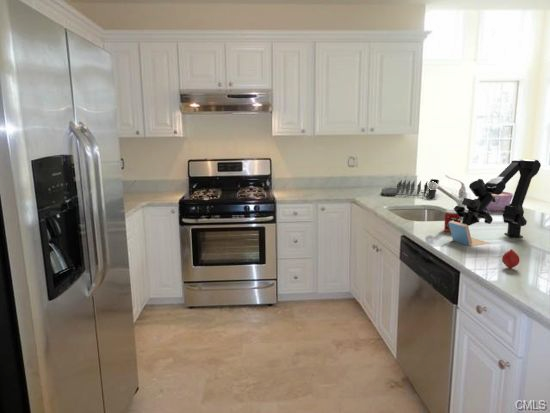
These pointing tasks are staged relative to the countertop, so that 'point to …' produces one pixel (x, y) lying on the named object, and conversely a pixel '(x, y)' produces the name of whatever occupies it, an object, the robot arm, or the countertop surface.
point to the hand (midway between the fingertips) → (461, 227)
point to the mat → (477, 242)
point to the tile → (460, 232)
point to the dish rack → (407, 186)
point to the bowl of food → (500, 201)
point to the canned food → (451, 218)
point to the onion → (510, 259)
